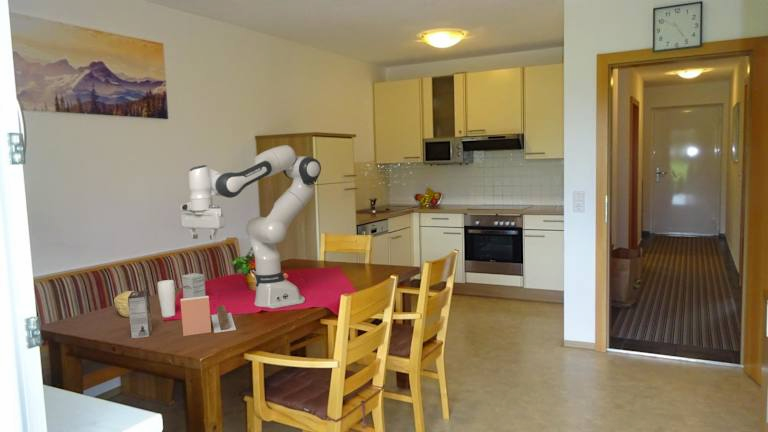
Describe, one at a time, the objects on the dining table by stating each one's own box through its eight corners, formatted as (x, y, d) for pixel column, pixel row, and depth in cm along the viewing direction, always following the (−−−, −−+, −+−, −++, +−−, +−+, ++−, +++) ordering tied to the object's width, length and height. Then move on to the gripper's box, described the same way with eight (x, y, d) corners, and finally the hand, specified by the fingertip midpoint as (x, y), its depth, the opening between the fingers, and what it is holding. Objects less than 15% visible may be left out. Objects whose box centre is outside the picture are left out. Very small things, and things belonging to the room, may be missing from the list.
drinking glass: (171, 318, 235) (168, 283, 233) (156, 318, 236) (153, 283, 235) (180, 314, 241) (177, 280, 240) (166, 313, 243) (163, 279, 241)
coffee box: (134, 331, 219) (131, 291, 217) (152, 329, 221) (148, 289, 219) (131, 339, 210) (127, 297, 208) (149, 336, 212) (146, 295, 210)
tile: (211, 331, 216) (208, 295, 214) (211, 333, 213) (208, 297, 211) (183, 335, 212) (180, 299, 211) (183, 337, 209) (180, 300, 208)
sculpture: (111, 317, 240) (108, 293, 239) (134, 310, 251) (132, 286, 250) (130, 320, 236) (127, 295, 234) (152, 312, 246) (150, 288, 245)
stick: (225, 314, 236) (224, 305, 235) (228, 329, 215) (228, 319, 215) (217, 315, 235) (216, 306, 234) (220, 330, 214) (220, 320, 214)
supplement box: (183, 302, 262) (181, 275, 261) (196, 298, 268) (194, 272, 267) (193, 304, 258) (191, 277, 257) (206, 300, 264) (204, 273, 263)
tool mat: (230, 313, 239) (230, 312, 239) (236, 331, 214) (236, 329, 214) (211, 316, 236) (211, 315, 236) (214, 334, 212) (214, 332, 212)
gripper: (226, 204, 228) (229, 238, 229) (188, 204, 236) (190, 237, 238) (215, 206, 222) (218, 241, 224) (177, 206, 231) (179, 239, 232)
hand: (203, 239), depth 231 cm, fingers open, 8 cm apart
